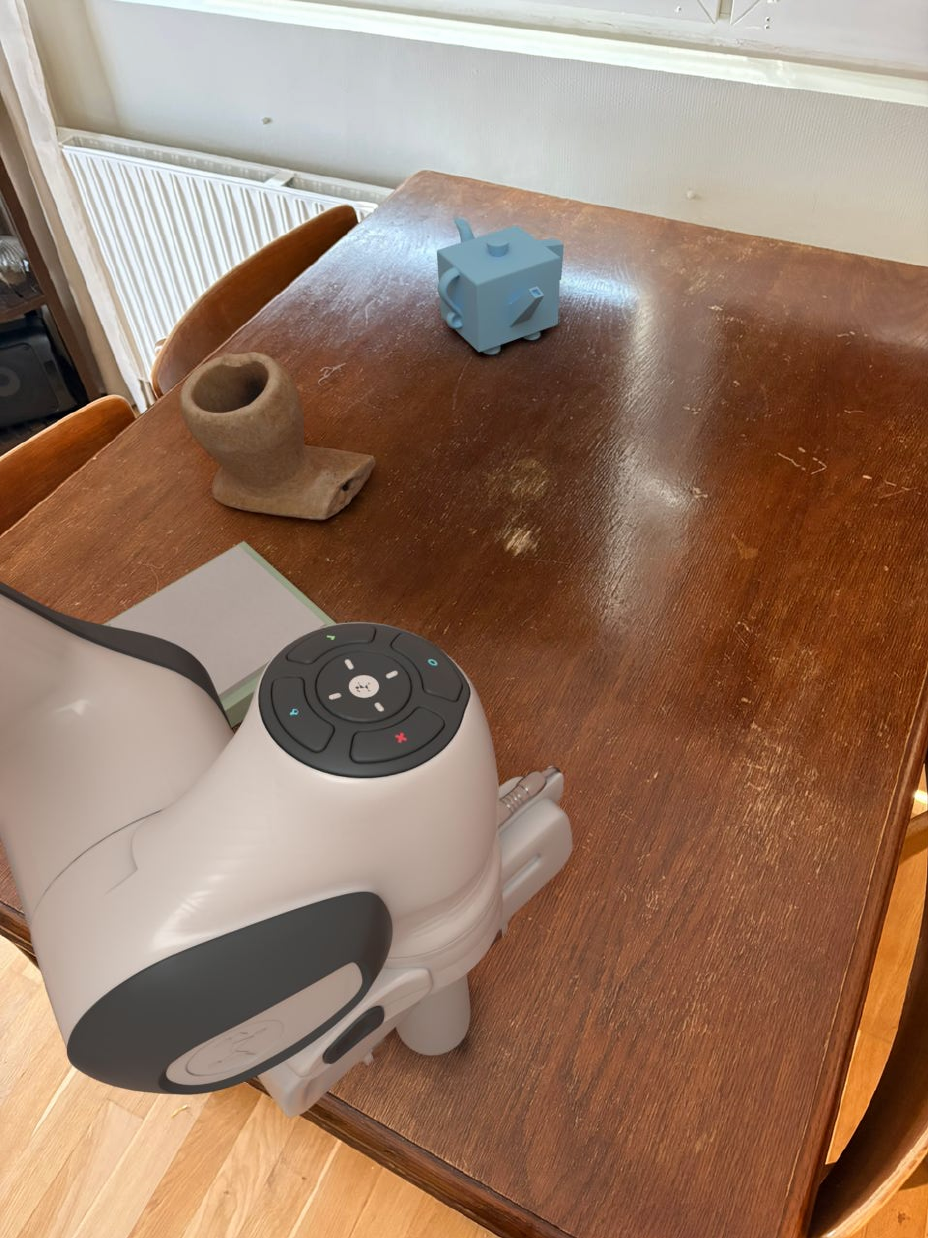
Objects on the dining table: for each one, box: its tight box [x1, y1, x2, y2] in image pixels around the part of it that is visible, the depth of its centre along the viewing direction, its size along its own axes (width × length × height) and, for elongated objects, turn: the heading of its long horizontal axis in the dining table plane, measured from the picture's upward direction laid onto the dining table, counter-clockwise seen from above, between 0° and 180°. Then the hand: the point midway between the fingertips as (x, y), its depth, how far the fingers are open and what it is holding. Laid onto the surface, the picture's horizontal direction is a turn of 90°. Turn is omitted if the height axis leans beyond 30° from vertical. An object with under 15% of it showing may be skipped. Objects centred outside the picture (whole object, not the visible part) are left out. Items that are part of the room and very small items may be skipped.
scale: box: [102, 540, 337, 729], centre depth 75 cm, size 15×15×3 cm
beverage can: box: [395, 973, 471, 1057], centre depth 52 cm, size 5×5×12 cm
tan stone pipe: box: [178, 351, 376, 521], centre depth 83 cm, size 15×12×15 cm
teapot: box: [436, 217, 565, 355], centre depth 103 cm, size 16×18×11 cm
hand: (431, 986), depth 52 cm, fingers open, 8 cm apart
